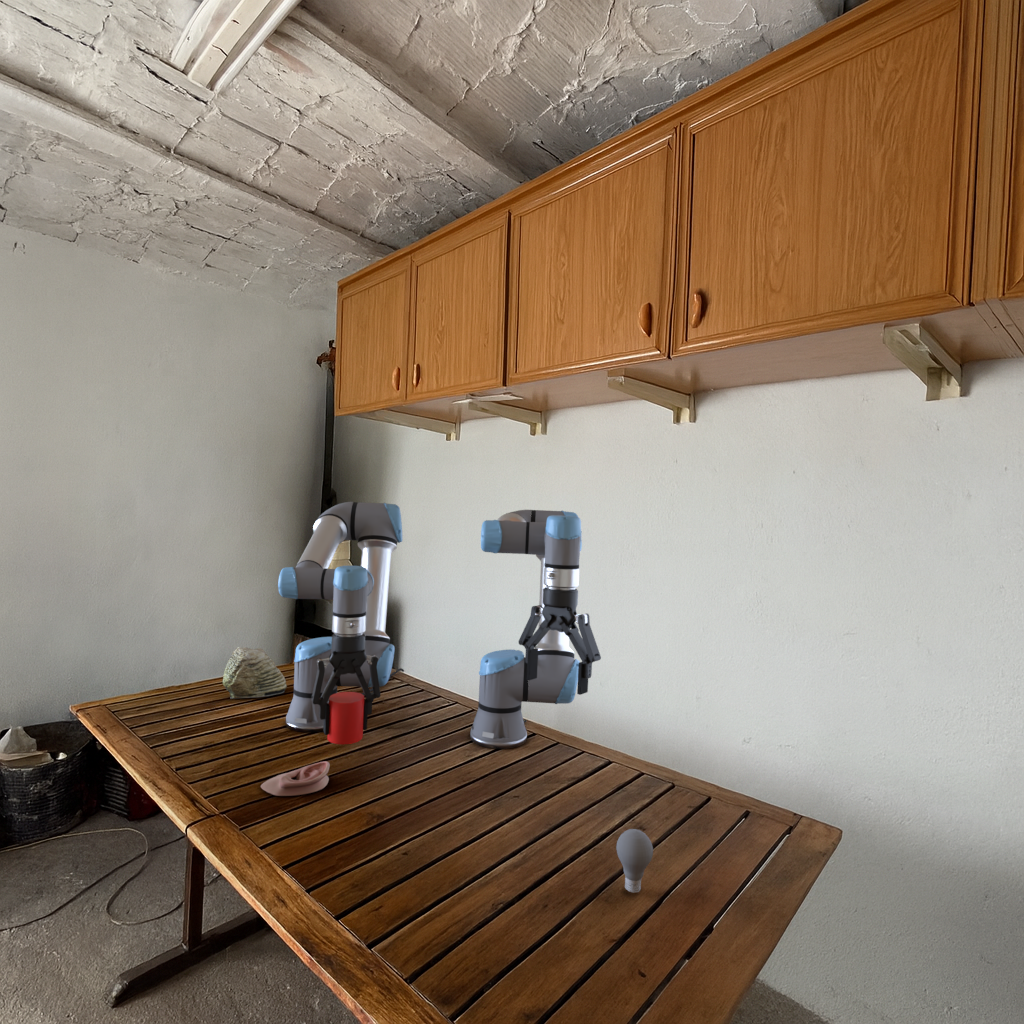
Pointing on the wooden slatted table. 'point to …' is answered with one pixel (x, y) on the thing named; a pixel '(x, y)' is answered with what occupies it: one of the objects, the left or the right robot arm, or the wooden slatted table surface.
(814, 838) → the wooden slatted table surface
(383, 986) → the wooden slatted table surface
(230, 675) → the fossil
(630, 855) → the light bulb
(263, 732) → the wooden slatted table surface
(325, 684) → the left robot arm
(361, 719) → the cylinder
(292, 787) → the anatomical model
